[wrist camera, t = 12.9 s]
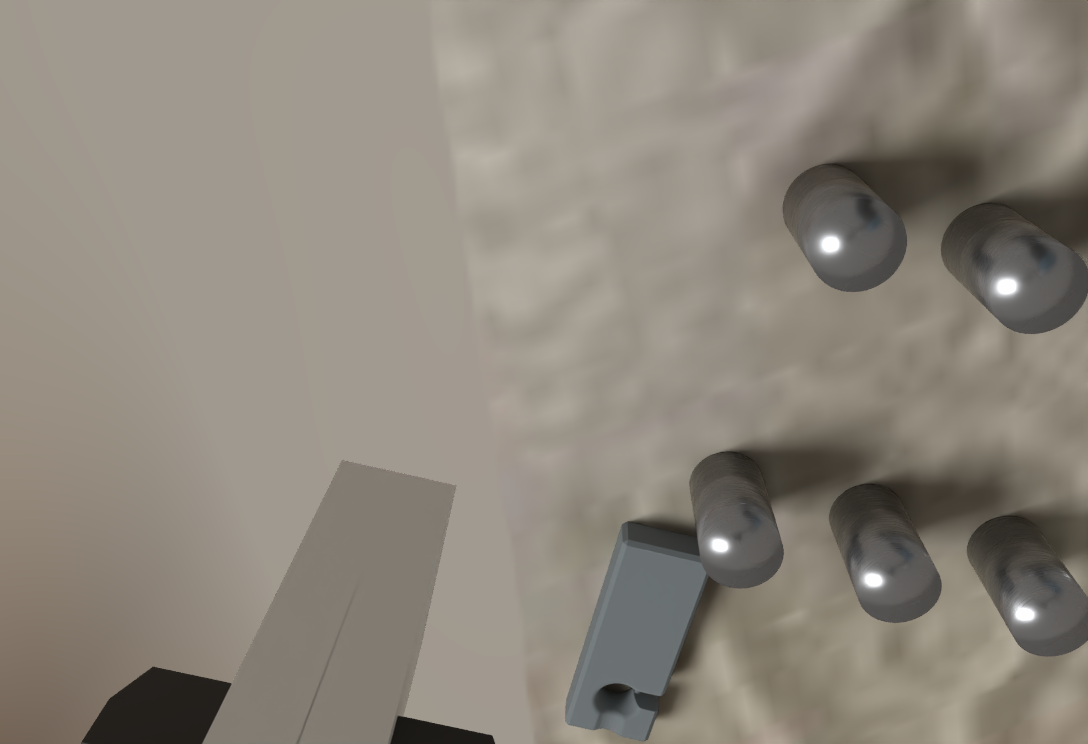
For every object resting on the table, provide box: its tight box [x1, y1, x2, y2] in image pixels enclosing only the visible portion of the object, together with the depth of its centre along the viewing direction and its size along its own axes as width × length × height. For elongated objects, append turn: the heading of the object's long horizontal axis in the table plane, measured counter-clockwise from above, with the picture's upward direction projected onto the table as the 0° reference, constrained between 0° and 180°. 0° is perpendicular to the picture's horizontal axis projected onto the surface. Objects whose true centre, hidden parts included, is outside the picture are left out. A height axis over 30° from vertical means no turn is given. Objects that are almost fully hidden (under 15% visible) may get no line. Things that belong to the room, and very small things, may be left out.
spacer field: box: [689, 164, 1088, 656], centre depth 36 cm, size 15×15×5 cm
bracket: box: [565, 522, 709, 741], centre depth 43 cm, size 4×10×2 cm, turn 167°
